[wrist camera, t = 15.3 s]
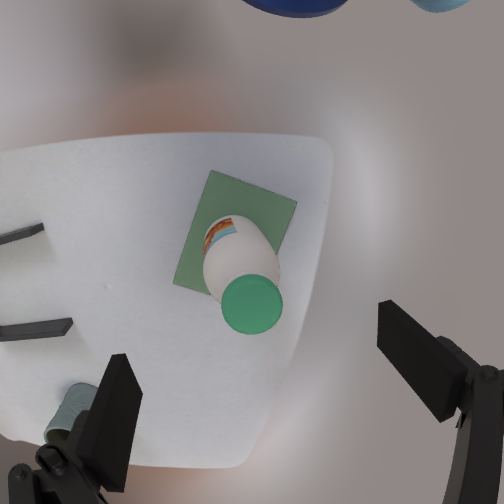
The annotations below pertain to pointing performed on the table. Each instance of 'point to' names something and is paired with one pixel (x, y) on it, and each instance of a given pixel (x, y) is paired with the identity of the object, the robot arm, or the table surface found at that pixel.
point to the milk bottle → (242, 274)
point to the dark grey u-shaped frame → (38, 328)
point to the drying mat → (223, 204)
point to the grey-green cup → (69, 413)
